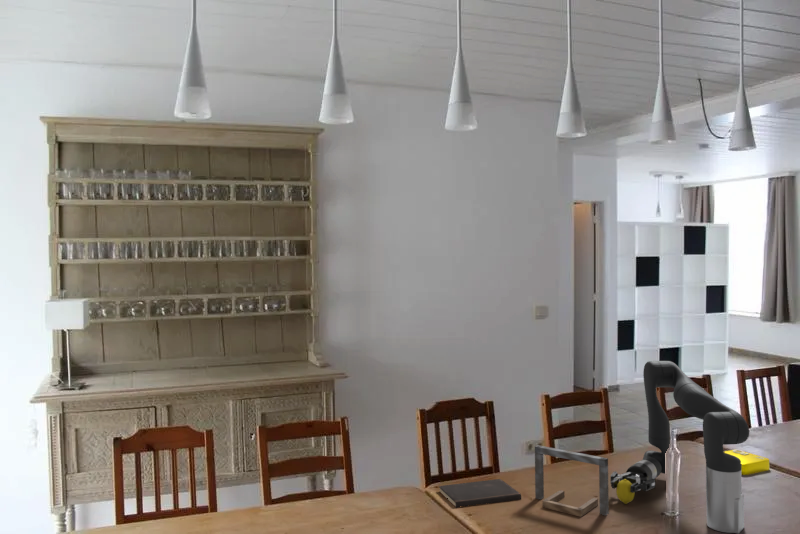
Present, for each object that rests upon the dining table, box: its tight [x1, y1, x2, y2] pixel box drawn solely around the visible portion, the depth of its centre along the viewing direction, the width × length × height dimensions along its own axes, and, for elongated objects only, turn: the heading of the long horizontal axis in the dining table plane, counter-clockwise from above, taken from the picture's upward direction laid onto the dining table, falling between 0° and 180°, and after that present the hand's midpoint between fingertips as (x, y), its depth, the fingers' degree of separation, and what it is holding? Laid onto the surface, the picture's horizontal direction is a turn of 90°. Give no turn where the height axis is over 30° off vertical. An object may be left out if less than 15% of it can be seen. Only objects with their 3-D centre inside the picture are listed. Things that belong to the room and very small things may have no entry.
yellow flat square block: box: [724, 449, 770, 476], centre depth 243 cm, size 15×15×5 cm
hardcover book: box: [438, 478, 522, 508], centre depth 217 cm, size 16×23×2 cm
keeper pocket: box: [534, 444, 610, 518], centre depth 206 cm, size 24×12×17 cm, turn 50°
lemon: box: [615, 479, 636, 505], centre depth 207 cm, size 6×6×8 cm
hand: (622, 487), depth 205 cm, fingers closed on lemon, 5 cm apart
